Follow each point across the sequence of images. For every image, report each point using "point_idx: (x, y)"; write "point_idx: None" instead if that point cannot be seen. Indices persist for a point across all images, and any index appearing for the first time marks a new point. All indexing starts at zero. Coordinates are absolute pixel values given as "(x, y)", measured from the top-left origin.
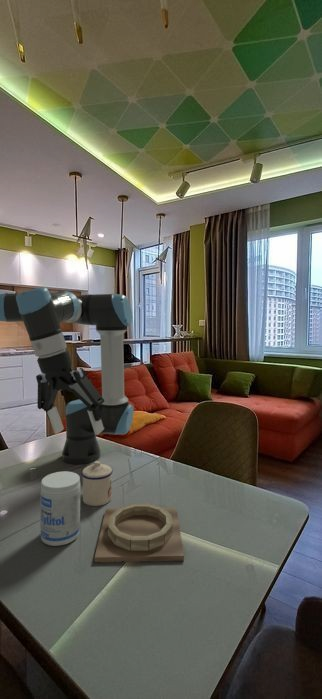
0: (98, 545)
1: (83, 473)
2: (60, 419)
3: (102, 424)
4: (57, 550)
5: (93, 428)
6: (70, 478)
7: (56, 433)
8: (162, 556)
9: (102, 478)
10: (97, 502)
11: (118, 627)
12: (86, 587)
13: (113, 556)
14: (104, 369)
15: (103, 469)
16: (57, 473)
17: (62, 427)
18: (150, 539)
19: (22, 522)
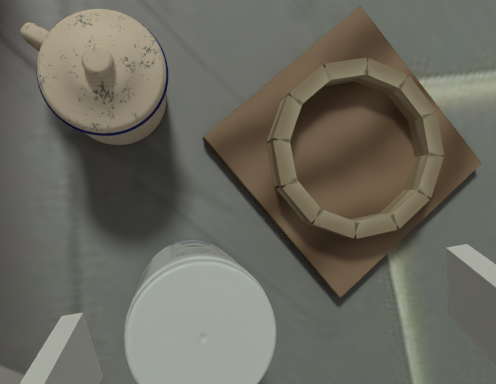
0: (315, 264)
1: (80, 126)
2: (54, 368)
3: (489, 261)
4: None
5: (477, 342)
6: (228, 307)
7: (99, 382)
8: (448, 194)
9: (163, 97)
10: (154, 127)
11: (479, 365)
12: (376, 350)
13: (370, 267)
14: None
15: (138, 64)
16: (146, 318)
17: (80, 330)
18: (431, 195)
19: (45, 330)
